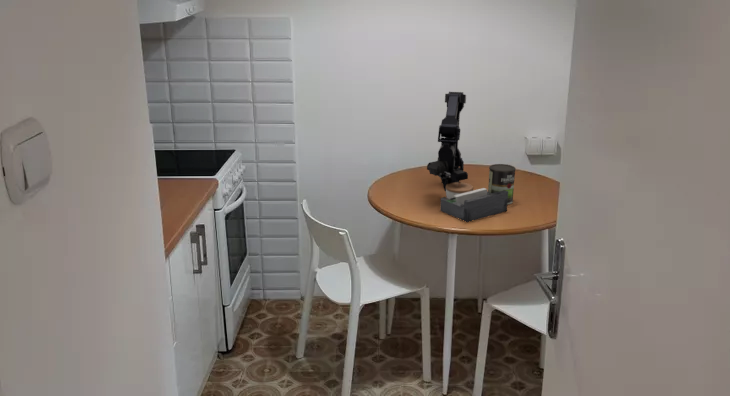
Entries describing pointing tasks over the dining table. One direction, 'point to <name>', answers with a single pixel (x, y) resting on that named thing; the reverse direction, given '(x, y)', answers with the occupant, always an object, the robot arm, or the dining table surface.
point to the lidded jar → (457, 189)
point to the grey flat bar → (469, 195)
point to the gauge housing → (476, 206)
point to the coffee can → (502, 179)
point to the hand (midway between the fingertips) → (446, 191)
